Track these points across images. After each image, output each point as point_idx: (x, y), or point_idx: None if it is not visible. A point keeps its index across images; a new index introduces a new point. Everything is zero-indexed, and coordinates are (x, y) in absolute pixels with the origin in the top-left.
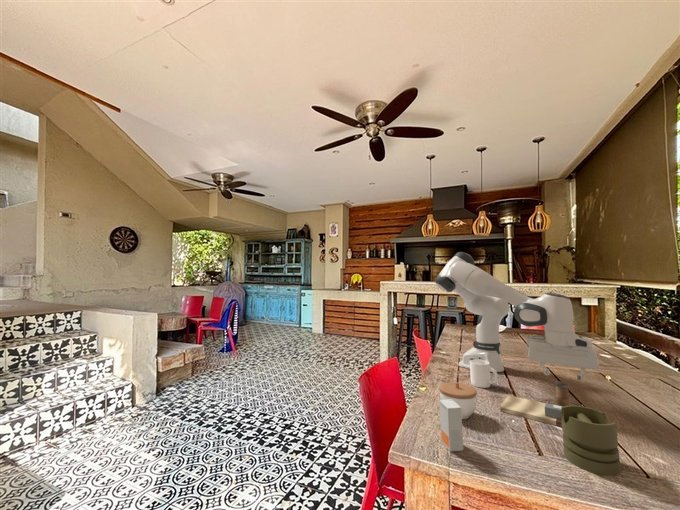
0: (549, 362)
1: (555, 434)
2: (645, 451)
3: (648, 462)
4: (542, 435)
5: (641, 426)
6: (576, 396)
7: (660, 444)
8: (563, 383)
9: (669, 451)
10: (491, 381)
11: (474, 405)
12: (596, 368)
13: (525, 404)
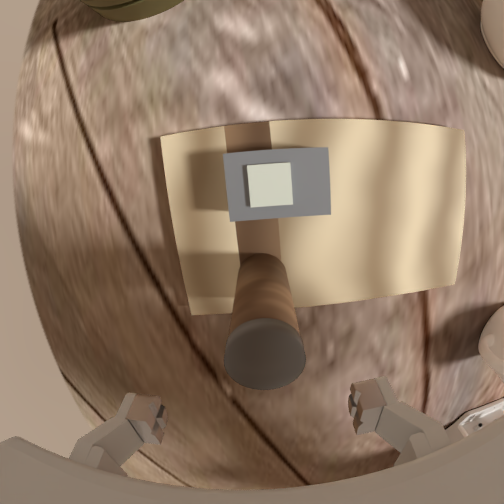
0: (377, 478)
1: (255, 44)
2: (44, 154)
3: (42, 92)
4: (290, 10)
5: (82, 330)
6: (253, 433)
7: (33, 237)
8: (252, 361)
9: (20, 207)
10: (489, 341)
11: (492, 7)
12: (7, 439)
13: (402, 229)
